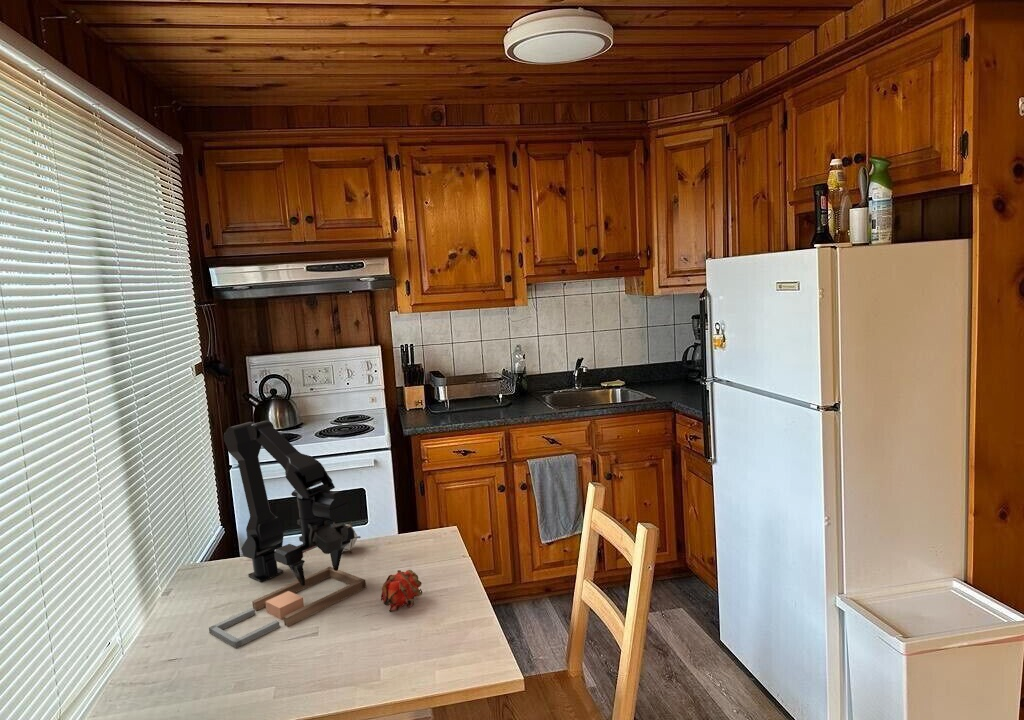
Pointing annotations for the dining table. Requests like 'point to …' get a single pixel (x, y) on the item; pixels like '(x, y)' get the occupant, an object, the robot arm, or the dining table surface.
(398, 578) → the dragon fruit
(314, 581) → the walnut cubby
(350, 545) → the game die
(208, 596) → the dining table surface
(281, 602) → the terracotta block
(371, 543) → the dining table surface
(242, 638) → the grey bay
